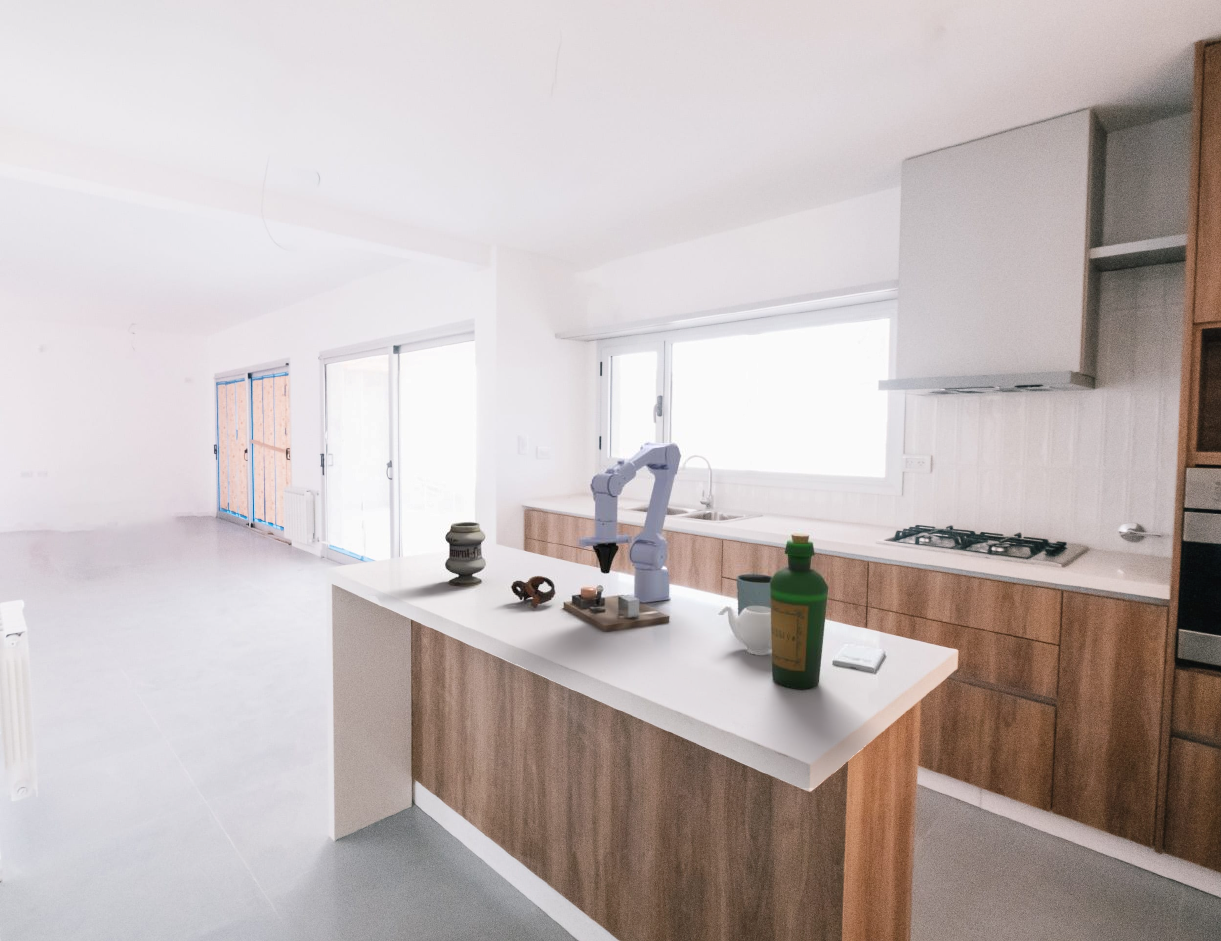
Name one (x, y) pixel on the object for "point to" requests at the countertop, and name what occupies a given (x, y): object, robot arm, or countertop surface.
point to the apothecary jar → (465, 553)
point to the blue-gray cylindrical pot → (753, 591)
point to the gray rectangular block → (628, 606)
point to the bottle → (797, 617)
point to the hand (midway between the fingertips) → (605, 572)
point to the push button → (588, 593)
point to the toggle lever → (598, 596)
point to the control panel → (612, 613)
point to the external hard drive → (859, 657)
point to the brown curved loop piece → (534, 590)
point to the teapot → (752, 628)
